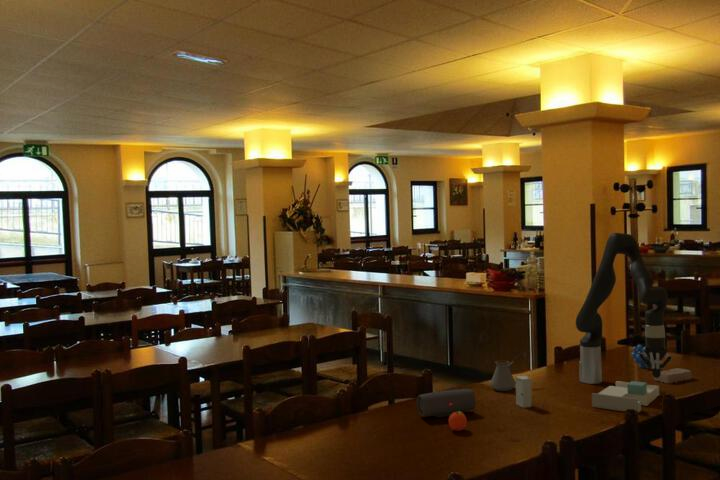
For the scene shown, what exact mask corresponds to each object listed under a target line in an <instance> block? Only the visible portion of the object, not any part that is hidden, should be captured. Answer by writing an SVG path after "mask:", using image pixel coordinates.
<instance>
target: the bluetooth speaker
mask: <svg viewBox="0 0 720 480" xmlns="http://www.w3.org/2000/svg"><path fill="white" fill-rule="evenodd" d="M476 404H477V401H476V397H475V393H474V390H472V389H470V388H460V389H451V390H450V389H448V390H441V391H434V392H429V393H423V394H419V395H418V396H417V398H416V408H417V412H418V415H420V416H422V417H423V416H424V417H425V416H426V417H427V416H434V417H435V418H444V417H450V415H451V414H452V413H454V412H458V411H460V412H461V413H462V412H463V413H464V412H467V411H472V410H474V409H475V408H476Z"/></svg>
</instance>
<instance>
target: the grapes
mask: <svg viewBox="0 0 720 480" xmlns="http://www.w3.org/2000/svg"><path fill="white" fill-rule="evenodd" d="M645 348H646V346H643V345H642V344H637V345H636V346H635V345H634V346H633V347H632V350H633V351H632V352H631V356H632V358H634V359H633V362H634V363H635V364H636V365H638V366H639V367H640V369H641V368H642V369H645V368H646V369H650V368H651V367H648V366H647V365H646V363H645V362H644V361H643V360H642V359H641V357H640V356H639V355H640V354H642V353H643V352H645ZM647 358H648V360H649V361H650V362H651V359H650V358H649V357H648V356H647Z"/></svg>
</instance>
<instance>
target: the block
mask: <svg viewBox="0 0 720 480" xmlns="http://www.w3.org/2000/svg"><path fill="white" fill-rule="evenodd" d="M647 385H648V384H647V382H643V381H635V380H631V381H630V383H628V384H627V389H628V394H634V395H642V396H643V395H644V394H645V393H647Z"/></svg>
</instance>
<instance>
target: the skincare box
mask: <svg viewBox="0 0 720 480" xmlns="http://www.w3.org/2000/svg"><path fill="white" fill-rule="evenodd" d="M515 382H516V384H515V404H516V405H517V406H518V407H521V408H525V409H526V408H531V407H532V378H531V377H529V376H527V375H518V376H515Z"/></svg>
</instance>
